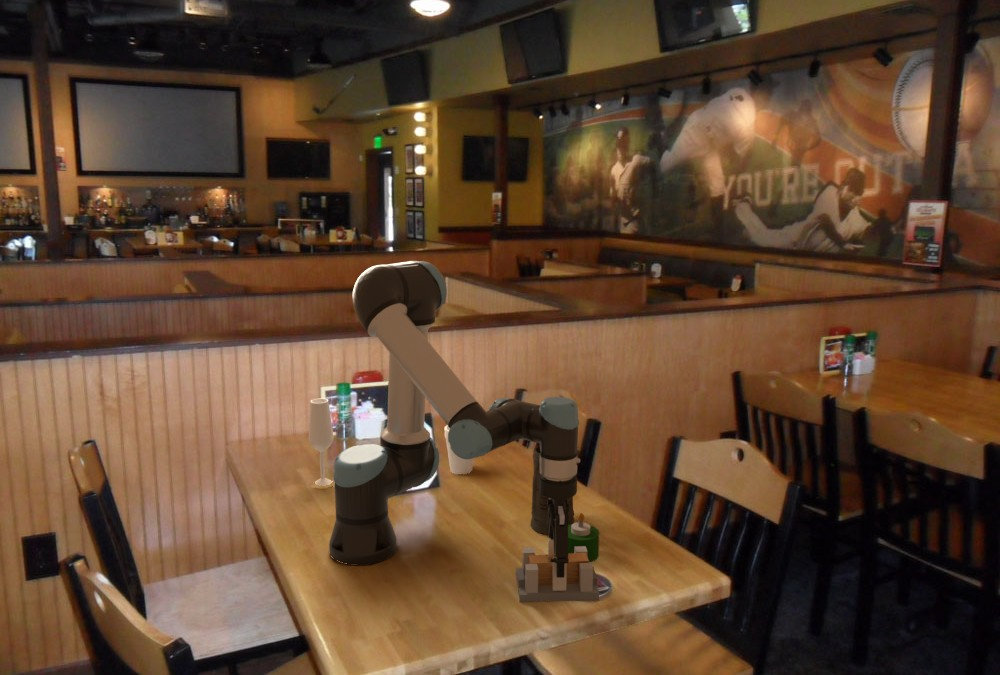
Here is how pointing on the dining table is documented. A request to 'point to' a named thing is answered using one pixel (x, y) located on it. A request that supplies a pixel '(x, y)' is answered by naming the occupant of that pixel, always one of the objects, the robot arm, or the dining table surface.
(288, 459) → the dining table surface
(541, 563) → the block
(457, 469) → the foam cup
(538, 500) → the beer stein
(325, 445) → the champagne flute
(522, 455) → the dining table surface
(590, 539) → the candle
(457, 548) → the dining table surface
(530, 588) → the jig
